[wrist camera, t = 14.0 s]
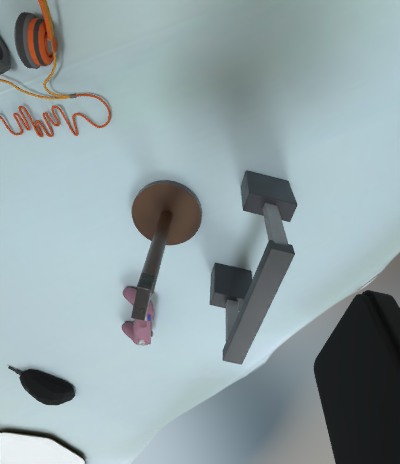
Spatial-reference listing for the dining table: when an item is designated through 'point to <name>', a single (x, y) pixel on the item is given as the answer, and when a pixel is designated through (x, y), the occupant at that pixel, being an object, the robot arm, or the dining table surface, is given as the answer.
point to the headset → (267, 274)
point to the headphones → (37, 62)
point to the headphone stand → (162, 230)
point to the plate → (34, 450)
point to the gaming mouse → (45, 387)
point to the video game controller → (138, 322)
